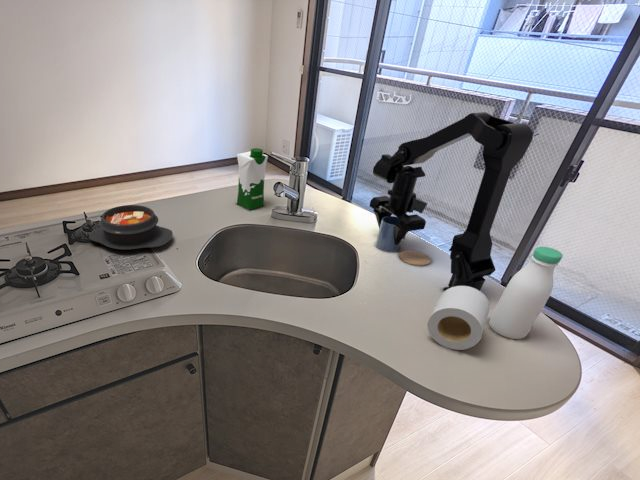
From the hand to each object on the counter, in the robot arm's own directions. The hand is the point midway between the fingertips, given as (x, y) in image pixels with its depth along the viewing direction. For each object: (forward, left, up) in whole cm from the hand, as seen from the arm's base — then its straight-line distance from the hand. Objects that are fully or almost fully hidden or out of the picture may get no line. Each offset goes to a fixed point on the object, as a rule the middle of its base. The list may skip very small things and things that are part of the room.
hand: (389, 239), depth 119 cm
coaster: (-8, -4, -2) cm, 10 cm away
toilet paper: (-39, +11, -3) cm, 41 cm away
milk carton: (+42, +30, -3) cm, 51 cm away
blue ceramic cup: (0, -1, -2) cm, 3 cm away
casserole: (+25, +74, -3) cm, 78 cm away
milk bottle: (-41, -3, -3) cm, 42 cm away
